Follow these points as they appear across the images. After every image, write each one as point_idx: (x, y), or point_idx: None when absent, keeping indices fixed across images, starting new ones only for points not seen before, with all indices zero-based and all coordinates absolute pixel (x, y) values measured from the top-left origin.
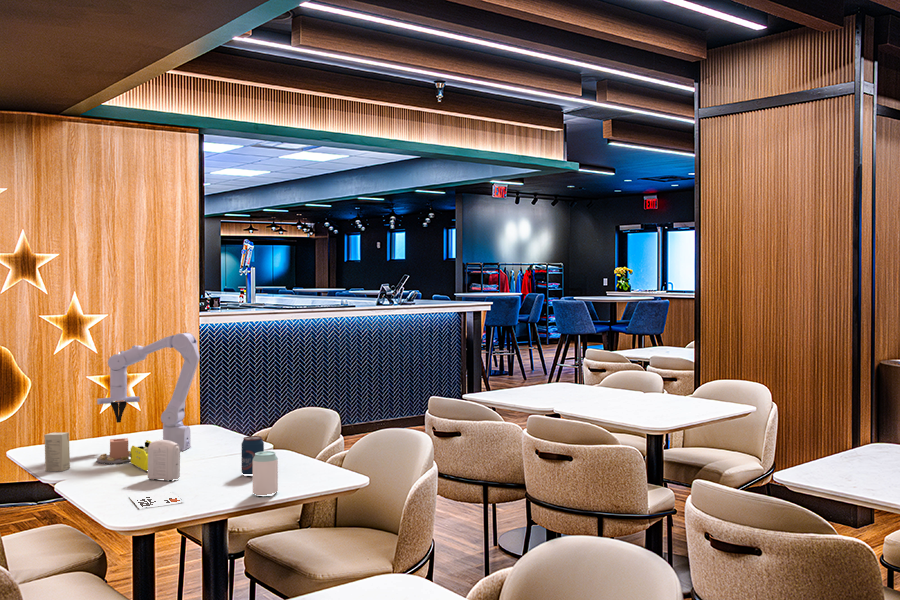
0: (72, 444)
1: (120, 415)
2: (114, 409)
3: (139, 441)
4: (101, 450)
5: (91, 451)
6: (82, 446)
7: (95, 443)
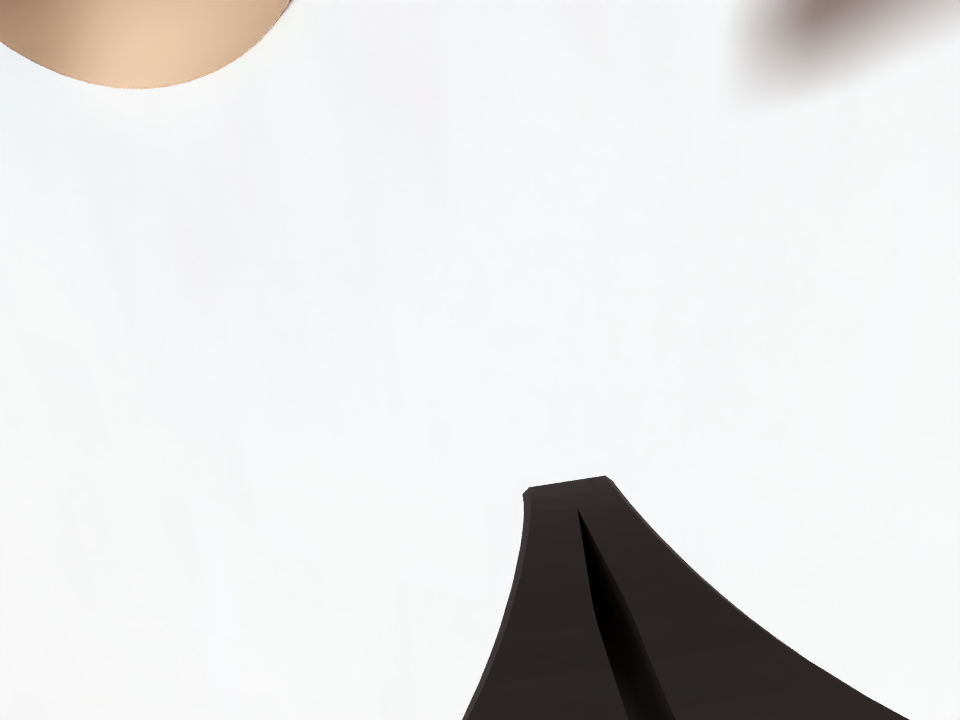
0: (940, 701)
1: (556, 585)
2: (836, 700)
3: (326, 695)
4: (709, 323)
5: (824, 296)
6: (874, 596)
7: None
